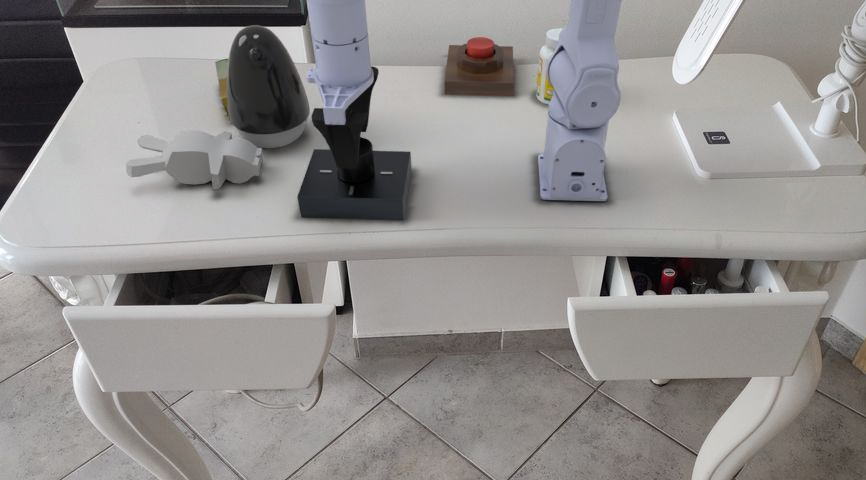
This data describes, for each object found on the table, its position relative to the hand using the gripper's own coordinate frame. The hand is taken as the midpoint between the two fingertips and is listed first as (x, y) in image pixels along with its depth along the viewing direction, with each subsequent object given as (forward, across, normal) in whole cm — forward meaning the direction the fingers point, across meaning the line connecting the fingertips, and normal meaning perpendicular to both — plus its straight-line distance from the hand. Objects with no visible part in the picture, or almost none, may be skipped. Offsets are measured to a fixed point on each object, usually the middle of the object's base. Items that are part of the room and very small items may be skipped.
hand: (353, 148), depth 82 cm
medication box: (+7, -21, -21) cm, 30 cm away
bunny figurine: (+7, -3, -20) cm, 21 cm away
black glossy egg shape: (+7, -12, -13) cm, 19 cm away
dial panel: (+6, 0, 0) cm, 6 cm away
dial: (+3, 0, 0) cm, 3 cm away
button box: (+6, -31, +14) cm, 35 cm away
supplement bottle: (+6, -25, +25) cm, 36 cm away
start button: (+3, -31, +14) cm, 34 cm away
